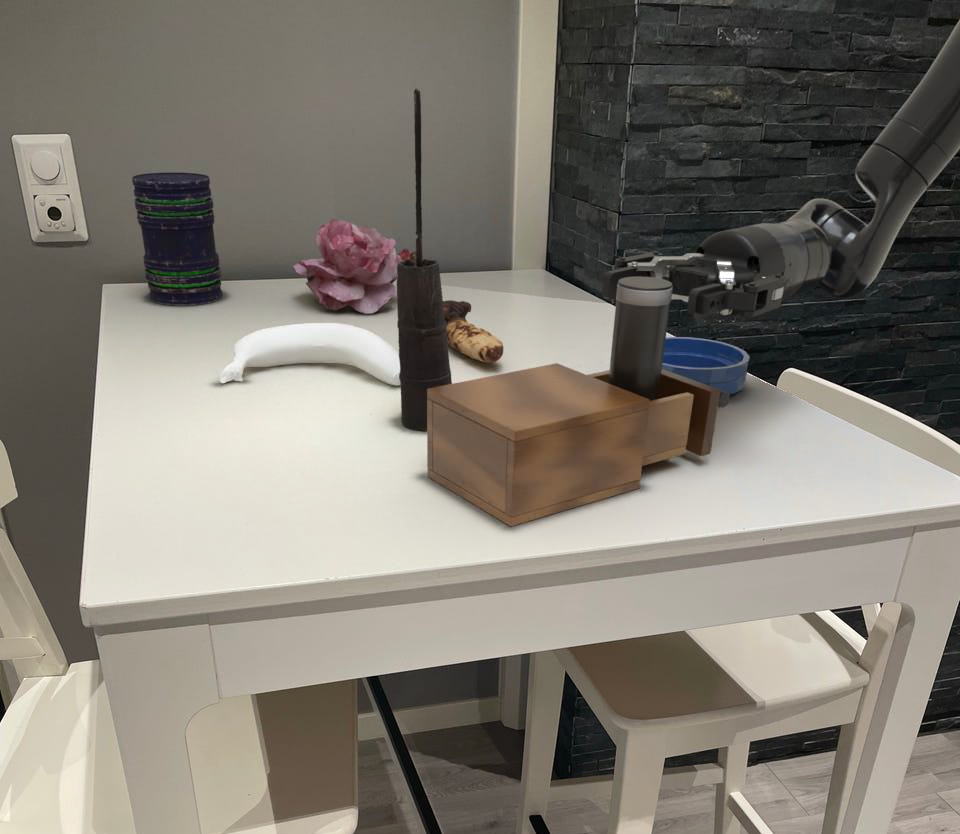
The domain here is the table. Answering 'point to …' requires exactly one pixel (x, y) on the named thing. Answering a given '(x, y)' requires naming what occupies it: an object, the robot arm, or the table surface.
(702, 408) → the drawer
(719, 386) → the bowl
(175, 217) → the storage jar
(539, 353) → the table surface
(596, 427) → the cabinet
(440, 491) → the table surface
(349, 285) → the flower
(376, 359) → the banana
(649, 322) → the pepper mill
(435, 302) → the butter churn
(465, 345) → the tan mottled elongated piece
